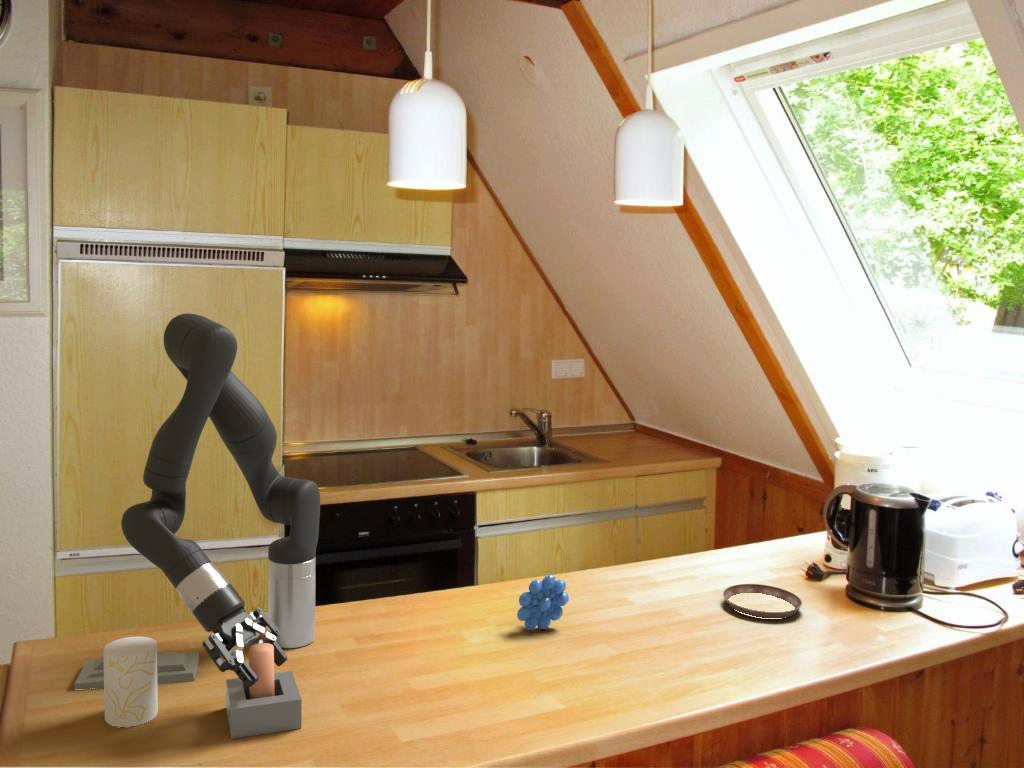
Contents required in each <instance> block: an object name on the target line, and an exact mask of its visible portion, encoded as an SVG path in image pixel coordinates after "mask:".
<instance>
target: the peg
mask: <svg viewBox="0 0 1024 768" xmlns="http://www.w3.org/2000/svg"><path fill="white" fill-rule="evenodd" d="M248 665H249V666H250V668H251V669H252V670H253V672H254V673H255V674H256V676H257V677H258V681H257V682H256V683H255V684H254V685H253V686H251V687H249V689H250V699H256V698H263V697H271V696H275V691H274V673H275V662H274V646H273V645H272V644H269V643H259V644H255V645H252V644H251V646H250V647H249V648H248Z"/></svg>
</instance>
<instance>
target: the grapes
mask: <svg viewBox="0 0 1024 768" xmlns="http://www.w3.org/2000/svg"><path fill="white" fill-rule="evenodd" d="M566 589H567V583H566V581H565V580H564V579H558V580H556V577H555V576H554V575H553V574H547V575H545V576H544V577H543V579H541V580H540V579H534V580H533V579H532V581H531V582H530V583H529V584H528V591H525V592H523V593H521V595H520V596H519V598H518V603H519V606H521V607H519V609H518V610H517V613H516V617H517V620H519V621H520V622H524V628H525V629H526V630H527V631H532V630H535V629H536V628H538V630H540V629H545V630H547V629H548V628H549V627H550V625H551V622H552V621H553V622H554V621H556V622H557V621H558V620H560V618H562V616H563V613H564V610H563V608H562V607H565V606H566V605H567V604H568V602H569V600H570V597H569V594H568V593H567V592H566V591H565V590H566Z"/></svg>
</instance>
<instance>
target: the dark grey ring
mask: <svg viewBox="0 0 1024 768" xmlns="http://www.w3.org/2000/svg"><path fill="white" fill-rule="evenodd" d="M740 593H762V594H766V595H772V596H775V597H777V598H781V599H783V600H785V601H787V602H789V603H790V604H792V605H793V606H794V607H795V609H794V610H791V611H785V612H765V611H757V610H752V609H748V608H744V607H741V606H738V605H736V604H734V603H732V602H730V601H729V600H728V599H729V598H730V597H731V596H733V595H736V594H740ZM722 596H723V598H724V600H725V601H726V603H727V605H728V604H729V605H728V606H729V607H730V606H731V607H732V608H733V609H735V610H737V611H739V612H742V613H745V614H749V615H752V616H756V617H762V618H785V617H789V616H790V617H792V616H793V615H795V614H796V613H797V612H798V611H799V610H800V609H801V607H802V605H803V600H802V599H801V597H799V596H798V595H796V594H795V593H793V592H791V591H789V590H787V589H783V588H781V587H776V586H773V585H767V584H758V583H739V584H736V585H731V586H728V587H727V588H725V589H724V590H723V591H722ZM731 607H730V608H731ZM732 608H731V609H732ZM733 609H732V610H733ZM790 617H789V618H790Z"/></svg>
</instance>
